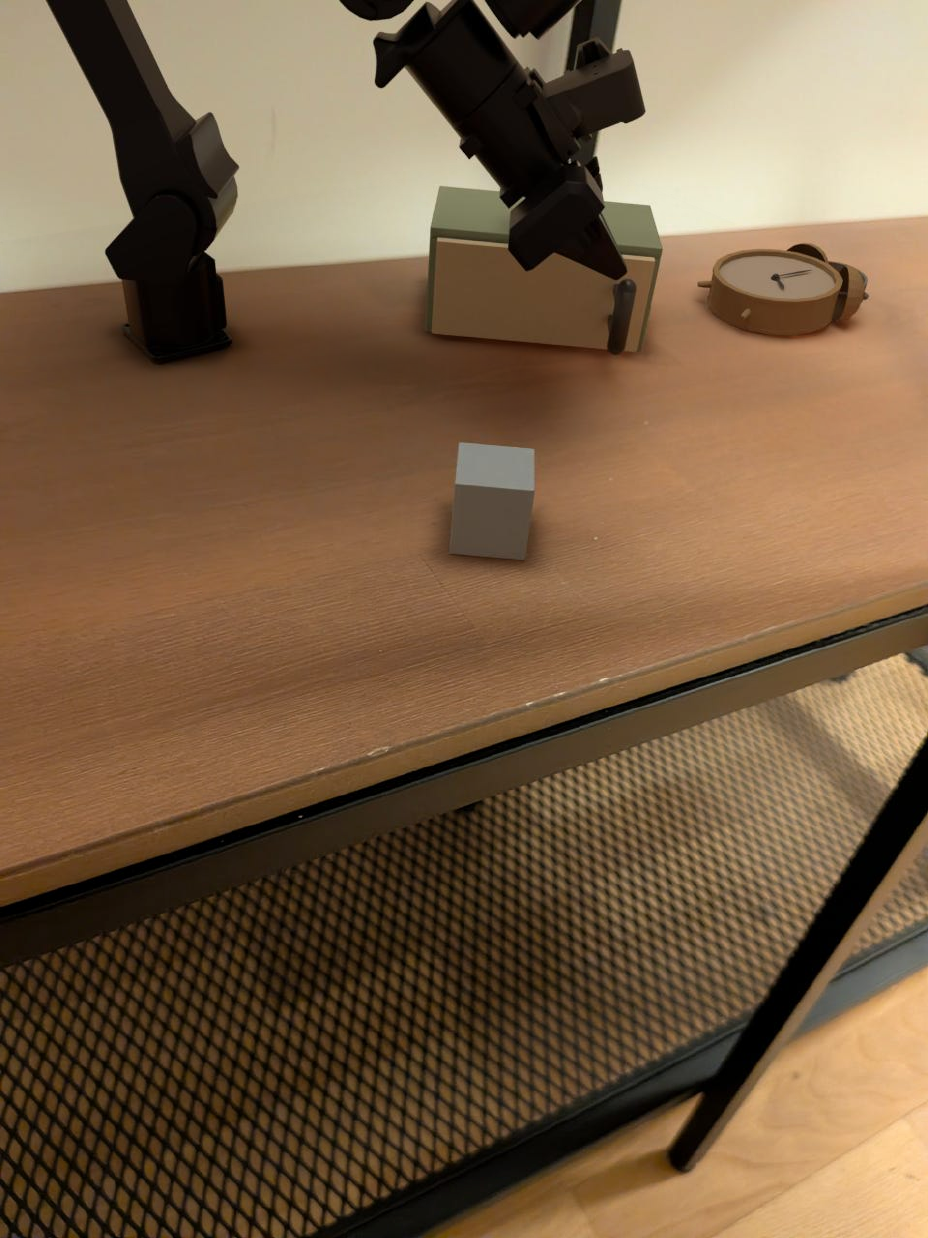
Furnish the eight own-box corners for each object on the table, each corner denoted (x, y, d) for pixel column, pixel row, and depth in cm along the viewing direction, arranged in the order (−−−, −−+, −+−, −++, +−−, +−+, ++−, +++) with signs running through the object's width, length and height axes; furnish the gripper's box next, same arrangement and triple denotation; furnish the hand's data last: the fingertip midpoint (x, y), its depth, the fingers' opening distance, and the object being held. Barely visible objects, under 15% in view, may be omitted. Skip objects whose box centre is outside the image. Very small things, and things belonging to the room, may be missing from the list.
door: (427, 361, 74) (431, 264, 69) (432, 329, 78) (437, 236, 73) (642, 380, 74) (662, 286, 69) (635, 347, 79) (654, 256, 74)
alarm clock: (686, 259, 87) (826, 220, 90) (682, 310, 91) (817, 271, 94) (756, 311, 80) (907, 266, 83) (749, 363, 83) (894, 319, 86)
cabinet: (425, 331, 79) (430, 226, 73) (433, 283, 86) (439, 185, 81) (641, 351, 79) (663, 248, 74) (631, 301, 87) (650, 204, 81)
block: (524, 560, 57) (534, 490, 53) (449, 554, 57) (454, 483, 53) (524, 516, 60) (534, 448, 57) (453, 510, 60) (459, 441, 57)
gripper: (591, 27, 52) (741, 250, 59) (577, -26, 66) (700, 160, 73) (438, 169, 57) (594, 358, 64) (456, 92, 71) (582, 254, 78)
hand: (622, 274), depth 70 cm, fingers closed
